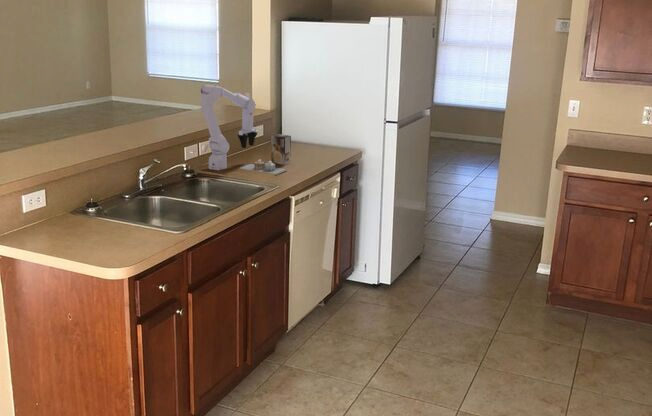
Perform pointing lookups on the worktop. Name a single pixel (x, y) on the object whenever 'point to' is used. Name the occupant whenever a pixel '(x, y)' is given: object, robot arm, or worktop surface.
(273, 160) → the coffee box
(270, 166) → the gear board
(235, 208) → the worktop surface
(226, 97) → the robot arm
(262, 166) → the loose gear
